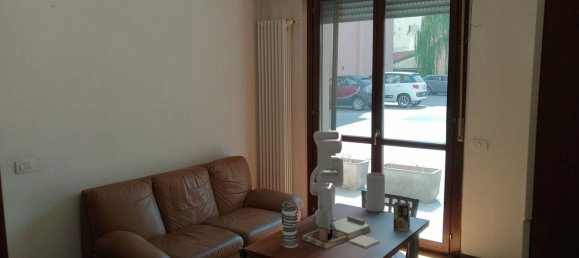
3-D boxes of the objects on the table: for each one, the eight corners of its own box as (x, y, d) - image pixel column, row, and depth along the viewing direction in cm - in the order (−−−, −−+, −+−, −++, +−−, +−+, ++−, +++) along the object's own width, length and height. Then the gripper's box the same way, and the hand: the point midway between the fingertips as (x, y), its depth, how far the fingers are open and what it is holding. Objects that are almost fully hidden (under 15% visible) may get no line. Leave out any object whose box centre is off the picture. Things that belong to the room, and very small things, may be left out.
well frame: (301, 239, 243) (301, 235, 243) (346, 223, 269) (346, 219, 268) (325, 248, 229) (325, 244, 229) (370, 230, 254) (370, 226, 254)
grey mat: (349, 242, 238) (349, 240, 238) (362, 236, 246) (362, 234, 246) (365, 248, 229) (365, 246, 229) (379, 242, 237) (379, 240, 237)
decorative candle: (288, 240, 242) (287, 198, 239) (301, 244, 236) (300, 201, 233) (278, 245, 235) (277, 202, 232) (291, 249, 229) (290, 205, 226)
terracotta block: (319, 239, 243) (318, 227, 242) (325, 237, 246) (325, 225, 245) (325, 242, 239) (325, 230, 238) (331, 239, 242) (331, 227, 241)
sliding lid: (324, 226, 255) (324, 221, 255) (345, 219, 268) (345, 214, 267) (348, 234, 241) (348, 229, 241) (369, 226, 253) (369, 221, 253)
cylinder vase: (384, 212, 288) (385, 177, 285) (366, 211, 290) (366, 176, 287) (384, 207, 300) (384, 172, 297) (366, 206, 302) (366, 172, 299)
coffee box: (410, 228, 257) (410, 203, 255) (408, 232, 251) (408, 206, 249) (395, 226, 261) (395, 201, 259) (393, 230, 255) (393, 204, 253)
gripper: (309, 205, 244) (310, 235, 246) (331, 212, 231) (331, 243, 233) (318, 203, 249) (319, 232, 251) (340, 209, 236) (340, 240, 238)
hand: (325, 237), depth 242 cm, fingers open, 6 cm apart
